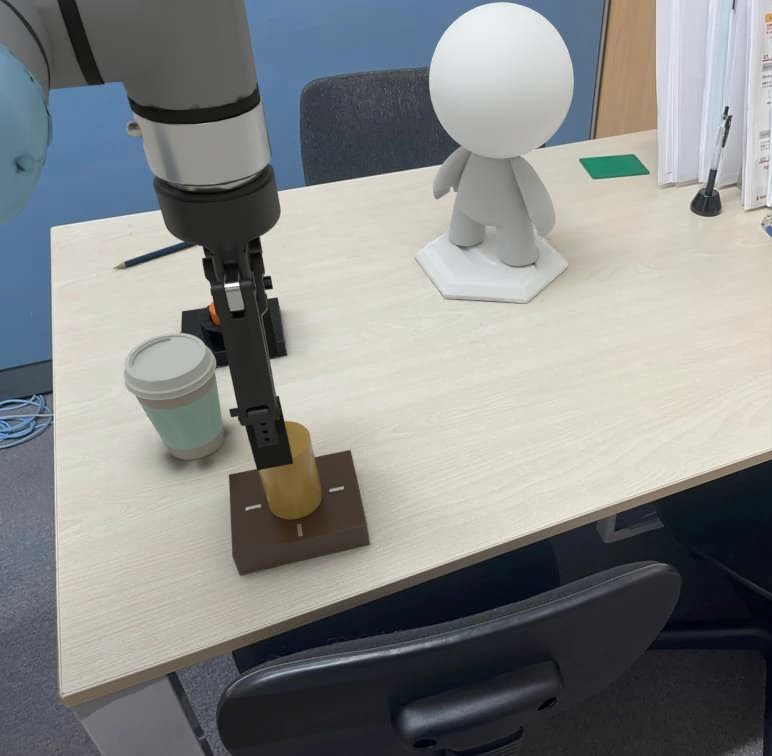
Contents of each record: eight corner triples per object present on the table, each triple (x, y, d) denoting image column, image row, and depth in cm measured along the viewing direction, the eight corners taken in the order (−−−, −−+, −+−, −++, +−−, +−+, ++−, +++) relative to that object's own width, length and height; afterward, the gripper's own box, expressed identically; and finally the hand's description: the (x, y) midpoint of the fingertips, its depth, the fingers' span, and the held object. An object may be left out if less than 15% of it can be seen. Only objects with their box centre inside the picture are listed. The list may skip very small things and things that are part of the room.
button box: (185, 372, 86) (176, 346, 83) (186, 324, 93) (177, 299, 90) (287, 355, 89) (281, 330, 86) (280, 310, 96) (275, 285, 93)
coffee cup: (224, 403, 82) (198, 320, 74) (247, 450, 77) (222, 365, 69) (146, 430, 78) (110, 345, 70) (165, 482, 73) (128, 396, 65)
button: (212, 329, 86) (209, 317, 85) (212, 310, 89) (208, 298, 88) (246, 323, 87) (243, 312, 86) (245, 305, 90) (242, 294, 89)
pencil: (215, 239, 109) (115, 272, 101) (212, 236, 110) (112, 269, 102) (214, 234, 109) (113, 267, 101) (211, 231, 109) (110, 264, 101)
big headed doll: (586, 251, 110) (616, 2, 87) (504, 323, 95) (515, 47, 72) (480, 214, 118) (482, -23, 95) (389, 275, 103) (366, 12, 80)
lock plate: (239, 575, 65) (231, 555, 63) (235, 493, 72) (228, 473, 70) (370, 544, 68) (367, 524, 66) (353, 468, 75) (350, 448, 73)
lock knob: (325, 512, 67) (313, 452, 61) (271, 525, 66) (253, 465, 60) (318, 473, 70) (306, 413, 65) (266, 485, 69) (249, 425, 64)
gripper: (158, 103, 54) (219, 326, 68) (138, 277, 36) (226, 531, 50) (261, 96, 56) (299, 315, 70) (289, 259, 38) (333, 508, 52)
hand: (269, 406), depth 60 cm, fingers open, 13 cm apart
